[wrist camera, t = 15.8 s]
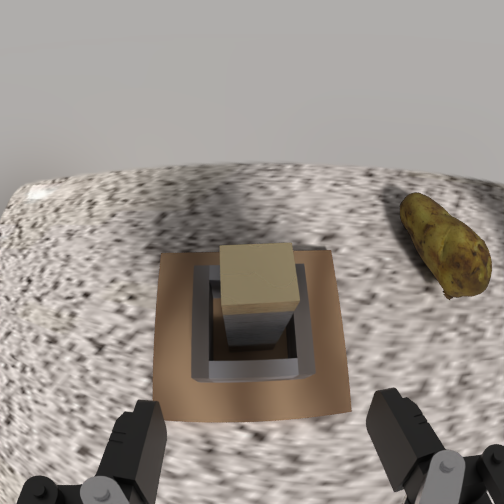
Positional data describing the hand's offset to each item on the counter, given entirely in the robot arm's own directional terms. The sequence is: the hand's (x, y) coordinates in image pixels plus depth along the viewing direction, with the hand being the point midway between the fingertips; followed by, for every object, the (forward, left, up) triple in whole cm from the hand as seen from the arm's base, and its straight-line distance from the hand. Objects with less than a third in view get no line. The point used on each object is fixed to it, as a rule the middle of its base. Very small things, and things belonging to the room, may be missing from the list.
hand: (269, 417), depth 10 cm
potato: (-22, -10, -15) cm, 28 cm away
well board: (-1, -6, -14) cm, 16 cm away
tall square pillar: (-1, -6, -13) cm, 15 cm away
